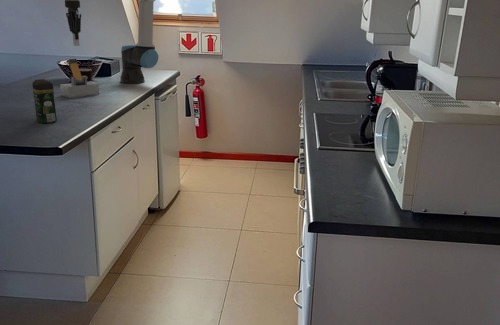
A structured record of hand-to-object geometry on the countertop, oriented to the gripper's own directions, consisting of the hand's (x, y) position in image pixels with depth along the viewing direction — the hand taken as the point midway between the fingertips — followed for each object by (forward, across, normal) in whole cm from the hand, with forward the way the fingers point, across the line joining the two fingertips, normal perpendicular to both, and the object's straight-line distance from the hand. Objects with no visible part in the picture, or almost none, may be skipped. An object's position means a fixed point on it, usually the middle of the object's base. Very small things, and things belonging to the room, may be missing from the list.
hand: (76, 45), depth 266 cm
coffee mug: (+27, -20, +11) cm, 36 cm away
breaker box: (+27, +1, -1) cm, 27 cm away
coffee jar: (+26, +44, -39) cm, 64 cm away
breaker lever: (+20, +1, -1) cm, 20 cm away
